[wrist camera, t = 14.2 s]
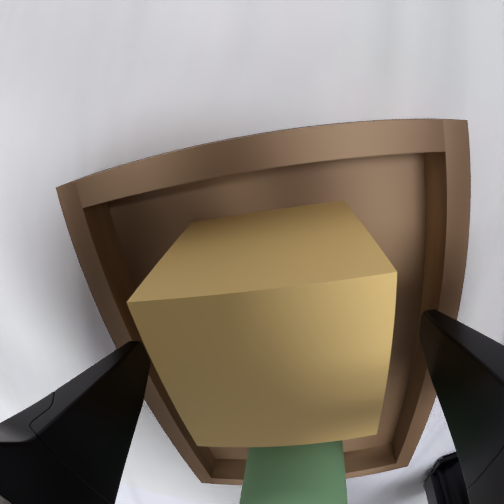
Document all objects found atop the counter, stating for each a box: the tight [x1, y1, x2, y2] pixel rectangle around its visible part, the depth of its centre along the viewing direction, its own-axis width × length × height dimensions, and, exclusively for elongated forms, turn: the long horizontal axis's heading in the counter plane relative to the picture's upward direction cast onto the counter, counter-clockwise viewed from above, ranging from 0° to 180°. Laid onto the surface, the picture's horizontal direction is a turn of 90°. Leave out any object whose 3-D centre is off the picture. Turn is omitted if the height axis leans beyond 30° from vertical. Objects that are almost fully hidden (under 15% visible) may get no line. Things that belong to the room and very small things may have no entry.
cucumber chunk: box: [240, 440, 347, 504], centre depth 13 cm, size 5×5×6 cm
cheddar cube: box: [127, 201, 397, 447], centre depth 9 cm, size 6×6×6 cm
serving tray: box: [56, 119, 471, 485], centre depth 13 cm, size 14×20×2 cm
